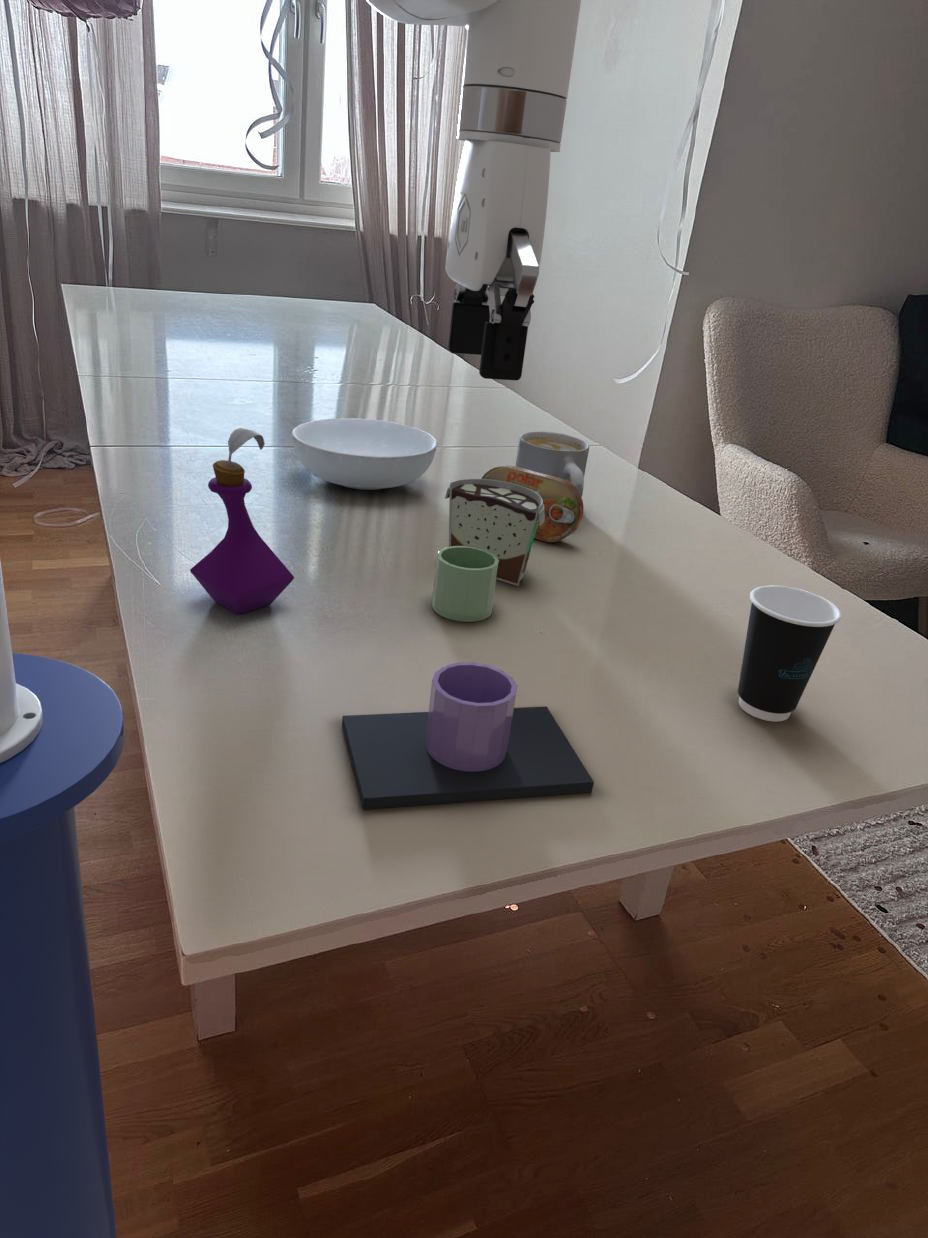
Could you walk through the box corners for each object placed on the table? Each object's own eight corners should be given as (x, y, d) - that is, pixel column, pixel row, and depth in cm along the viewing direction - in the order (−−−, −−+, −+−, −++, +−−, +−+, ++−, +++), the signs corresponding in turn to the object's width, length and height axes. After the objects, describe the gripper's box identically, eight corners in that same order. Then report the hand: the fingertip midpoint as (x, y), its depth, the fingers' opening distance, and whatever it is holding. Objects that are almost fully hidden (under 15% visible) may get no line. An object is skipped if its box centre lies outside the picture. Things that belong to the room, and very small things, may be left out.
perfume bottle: (234, 625, 87) (234, 445, 80) (189, 599, 92) (185, 425, 84) (294, 606, 93) (300, 435, 85) (249, 581, 97) (250, 416, 89)
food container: (550, 574, 108) (564, 495, 104) (530, 590, 103) (543, 508, 99) (461, 546, 113) (470, 470, 109) (437, 560, 108) (446, 481, 104)
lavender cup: (436, 774, 68) (444, 707, 65) (417, 727, 73) (424, 663, 71) (516, 769, 70) (528, 703, 67) (493, 723, 75) (502, 660, 72)
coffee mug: (503, 495, 134) (512, 429, 129) (565, 497, 136) (576, 433, 132) (526, 527, 122) (537, 456, 118) (594, 529, 124) (607, 460, 120)
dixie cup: (739, 677, 90) (768, 577, 85) (818, 709, 86) (852, 605, 81) (708, 706, 84) (737, 600, 79) (791, 741, 80) (826, 632, 75)
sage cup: (439, 622, 93) (445, 569, 91) (426, 595, 99) (431, 545, 96) (498, 621, 95) (506, 569, 92) (482, 595, 100) (488, 545, 98)
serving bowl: (385, 455, 146) (388, 413, 143) (460, 496, 131) (465, 450, 128) (266, 465, 134) (267, 419, 131) (334, 511, 119) (336, 461, 116)
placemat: (362, 809, 65) (363, 798, 64) (341, 725, 74) (342, 715, 74) (592, 792, 70) (594, 782, 69) (545, 715, 79) (546, 706, 79)
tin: (472, 519, 123) (479, 460, 119) (483, 514, 125) (491, 455, 121) (570, 550, 116) (581, 488, 113) (580, 544, 119) (591, 483, 115)
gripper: (433, 119, 71) (414, 341, 78) (495, 111, 56) (464, 387, 63) (522, 132, 73) (496, 347, 80) (605, 128, 58) (563, 393, 65)
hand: (482, 364), depth 72 cm, fingers open, 9 cm apart
